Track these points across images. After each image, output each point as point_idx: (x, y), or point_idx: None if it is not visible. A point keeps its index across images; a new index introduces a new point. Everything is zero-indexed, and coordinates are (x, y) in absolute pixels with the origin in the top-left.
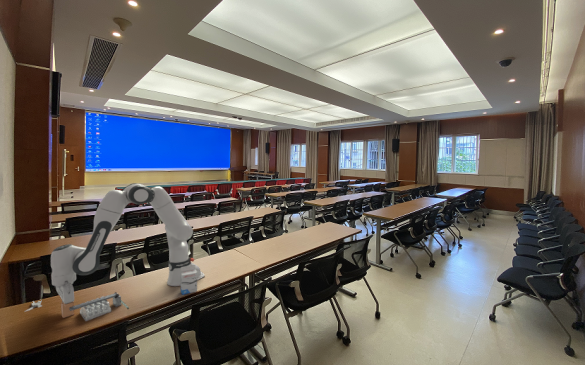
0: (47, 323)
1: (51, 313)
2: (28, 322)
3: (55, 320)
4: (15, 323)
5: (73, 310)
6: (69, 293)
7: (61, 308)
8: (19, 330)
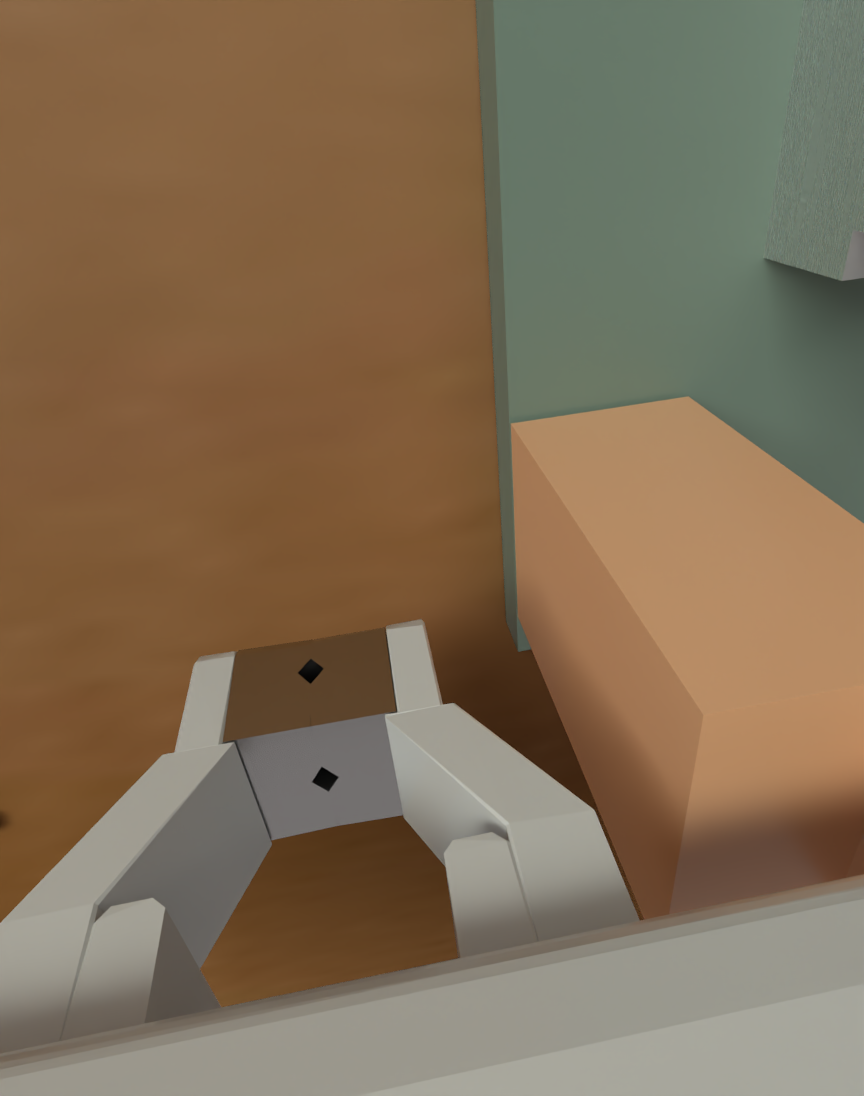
0: (527, 743)
1: (115, 740)
2: (266, 921)
3: (516, 663)
4: None
5: (757, 458)
6: (144, 1081)
7: (580, 764)
8: (449, 943)
